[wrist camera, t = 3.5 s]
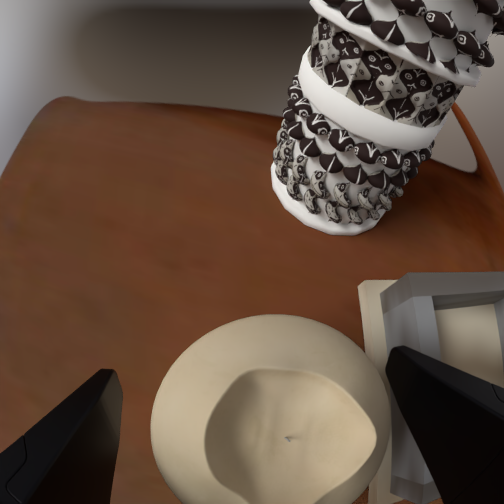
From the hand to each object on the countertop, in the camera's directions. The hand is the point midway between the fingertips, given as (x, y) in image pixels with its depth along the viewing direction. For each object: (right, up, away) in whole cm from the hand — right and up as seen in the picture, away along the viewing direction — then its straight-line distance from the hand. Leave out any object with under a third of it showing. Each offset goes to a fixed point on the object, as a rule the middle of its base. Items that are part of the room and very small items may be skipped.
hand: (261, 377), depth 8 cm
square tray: (+12, -5, +7) cm, 15 cm away
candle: (-1, -4, +5) cm, 7 cm away
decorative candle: (+5, +8, +12) cm, 16 cm away
